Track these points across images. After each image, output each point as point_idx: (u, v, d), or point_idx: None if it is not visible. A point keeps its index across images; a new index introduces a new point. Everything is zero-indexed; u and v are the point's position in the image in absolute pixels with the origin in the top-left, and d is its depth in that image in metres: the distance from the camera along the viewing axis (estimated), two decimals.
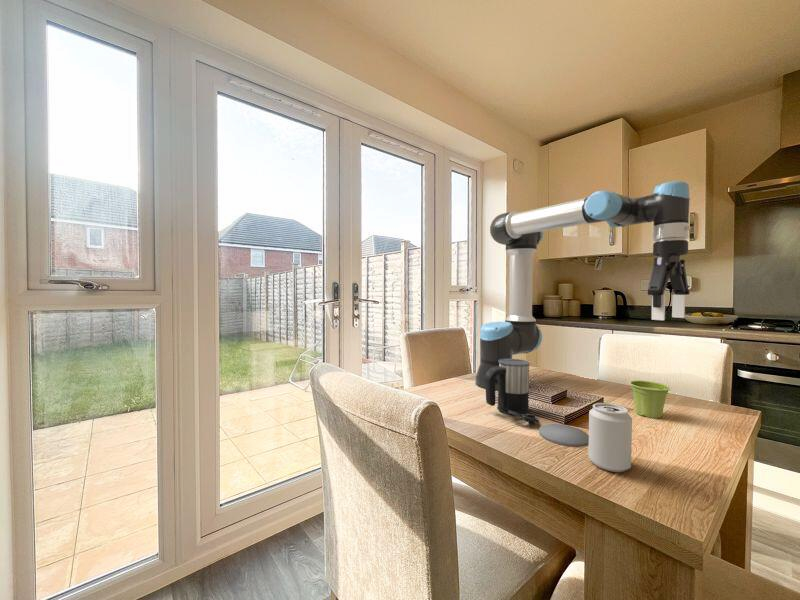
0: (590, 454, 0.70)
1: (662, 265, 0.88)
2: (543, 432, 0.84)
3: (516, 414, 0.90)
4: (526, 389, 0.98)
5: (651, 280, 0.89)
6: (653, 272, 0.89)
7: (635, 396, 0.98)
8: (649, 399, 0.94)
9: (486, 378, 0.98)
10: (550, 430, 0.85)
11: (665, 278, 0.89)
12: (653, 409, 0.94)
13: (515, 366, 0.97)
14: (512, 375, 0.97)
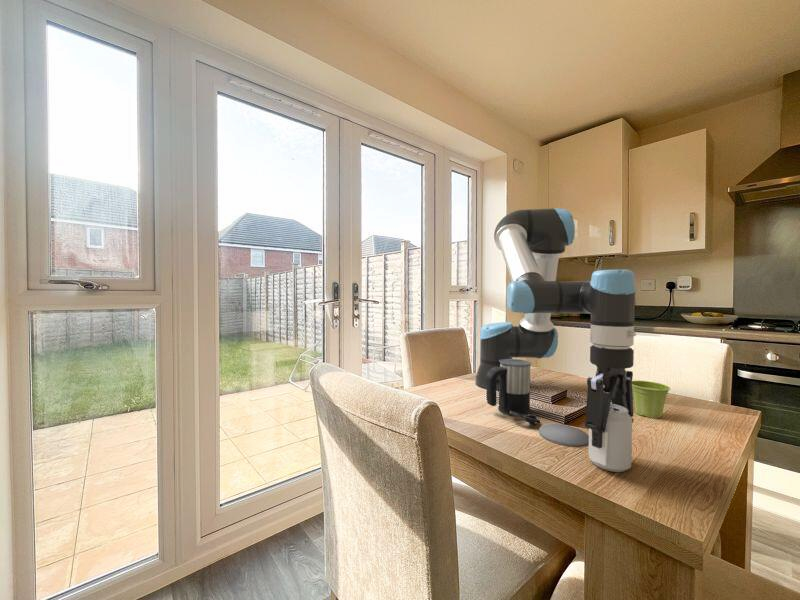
0: (590, 454, 0.70)
1: (598, 391, 0.65)
2: (543, 432, 0.84)
3: (517, 414, 0.89)
4: (527, 389, 0.97)
5: (587, 411, 0.66)
6: (588, 399, 0.66)
7: (635, 396, 0.98)
8: (649, 399, 0.94)
9: (487, 378, 0.98)
10: (550, 430, 0.85)
11: (605, 406, 0.67)
12: (653, 409, 0.94)
13: (516, 366, 0.96)
14: (513, 376, 0.97)
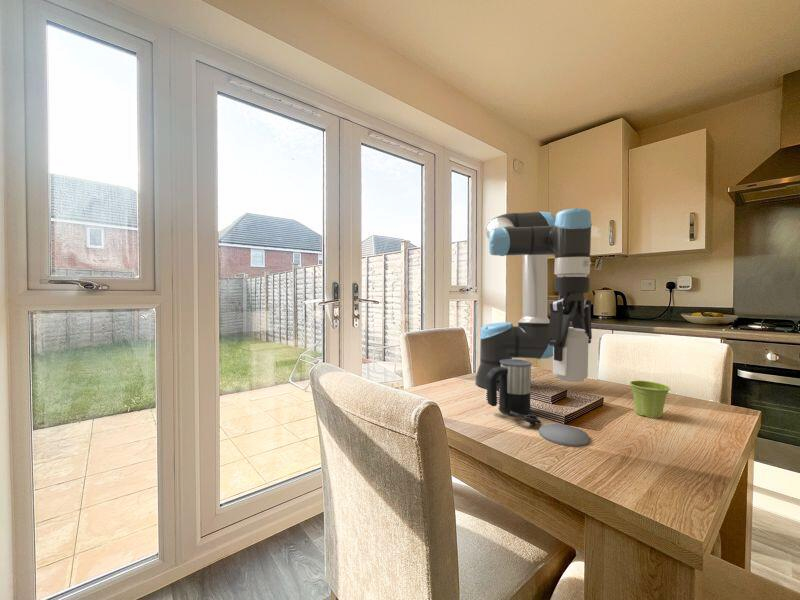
0: None
1: (558, 312, 0.77)
2: (543, 432, 0.84)
3: (518, 415, 0.89)
4: (528, 390, 0.97)
5: (549, 330, 0.78)
6: (550, 320, 0.78)
7: (635, 396, 0.98)
8: (649, 399, 0.94)
9: (487, 378, 0.98)
10: (550, 430, 0.85)
11: (565, 325, 0.78)
12: (653, 409, 0.94)
13: (517, 366, 0.96)
14: (513, 376, 0.96)
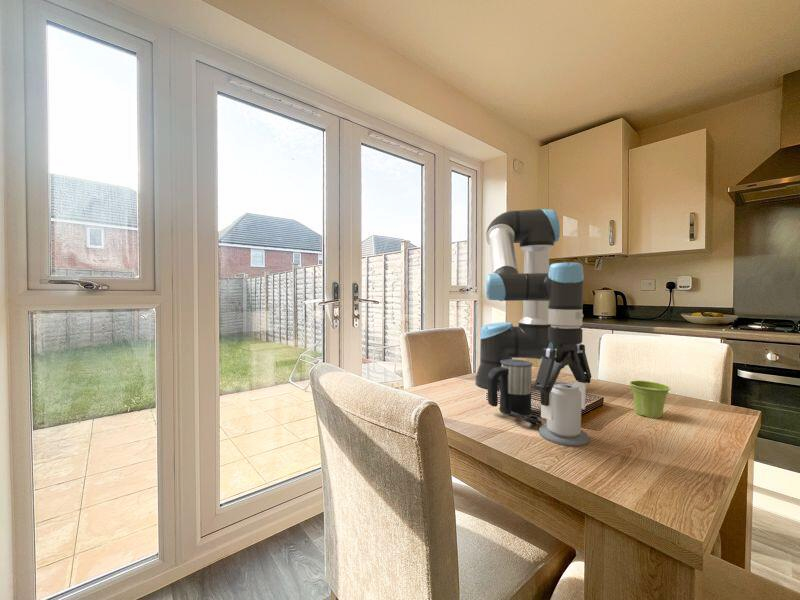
0: (547, 424, 0.84)
1: (550, 358, 0.78)
2: (543, 432, 0.84)
3: (518, 415, 0.89)
4: (528, 390, 0.97)
5: (538, 375, 0.79)
6: (541, 365, 0.79)
7: (635, 396, 0.98)
8: (649, 399, 0.94)
9: (488, 379, 0.98)
10: None
11: (555, 372, 0.79)
12: (653, 409, 0.94)
13: (517, 367, 0.96)
14: (514, 376, 0.96)
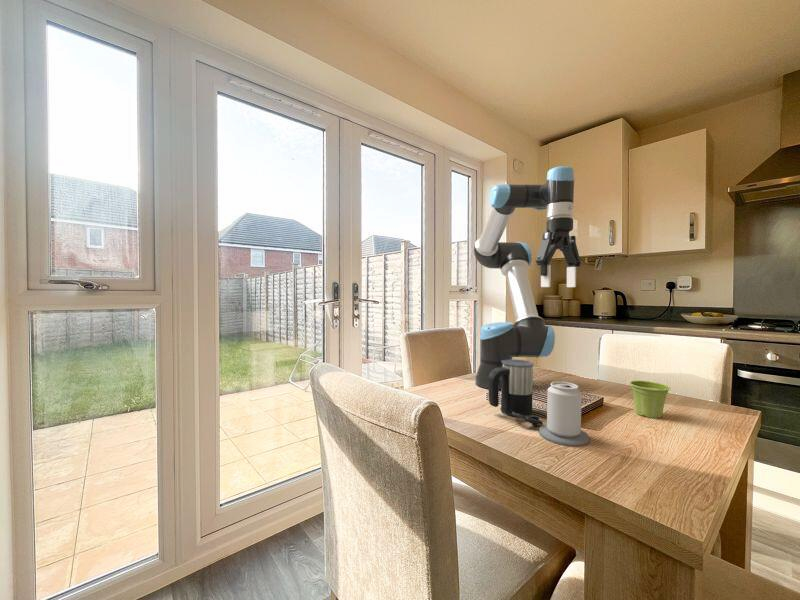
0: (547, 424, 0.84)
1: (548, 239, 1.01)
2: (543, 432, 0.84)
3: (519, 415, 0.88)
4: (530, 390, 0.97)
5: (539, 252, 1.02)
6: (541, 245, 1.02)
7: (635, 396, 0.98)
8: (649, 399, 0.94)
9: (489, 379, 0.97)
10: None
11: (551, 250, 1.02)
12: (653, 409, 0.94)
13: (519, 367, 0.95)
14: (515, 376, 0.96)
